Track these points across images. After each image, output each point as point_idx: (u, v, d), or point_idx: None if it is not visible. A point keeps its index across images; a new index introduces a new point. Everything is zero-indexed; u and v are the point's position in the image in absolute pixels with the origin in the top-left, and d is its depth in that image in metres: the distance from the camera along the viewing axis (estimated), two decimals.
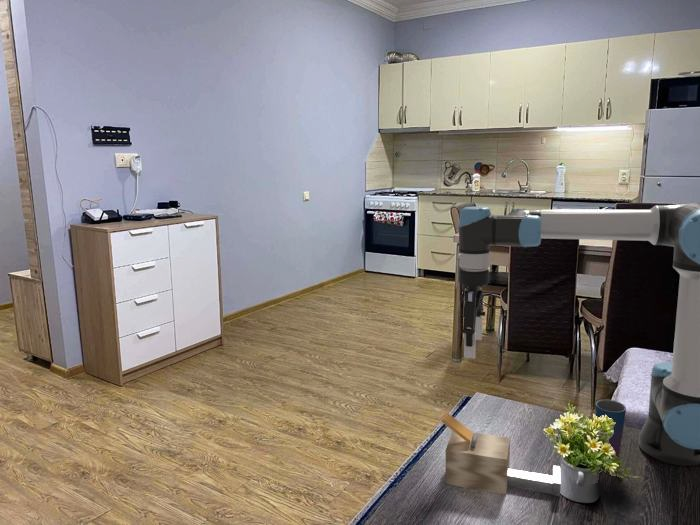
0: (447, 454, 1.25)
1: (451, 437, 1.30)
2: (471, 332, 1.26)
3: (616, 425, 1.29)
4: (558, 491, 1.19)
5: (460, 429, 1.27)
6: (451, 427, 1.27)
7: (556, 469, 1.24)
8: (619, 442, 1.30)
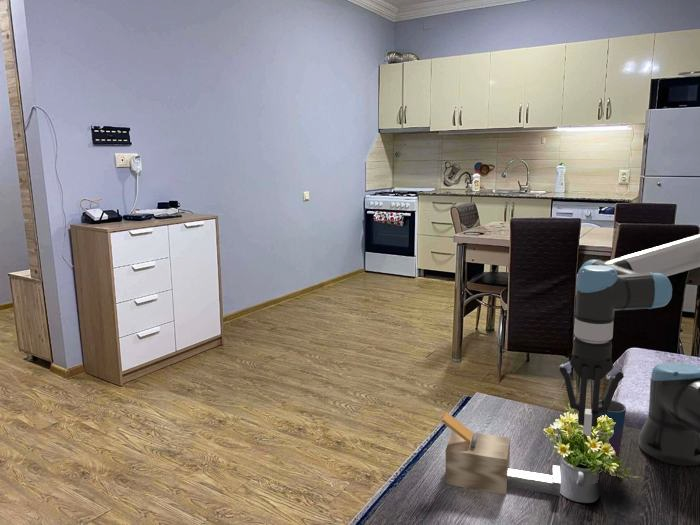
0: (447, 454, 1.25)
1: (451, 437, 1.30)
2: None
3: (616, 425, 1.29)
4: (558, 491, 1.19)
5: (460, 429, 1.27)
6: (451, 427, 1.27)
7: (556, 469, 1.24)
8: (619, 442, 1.30)
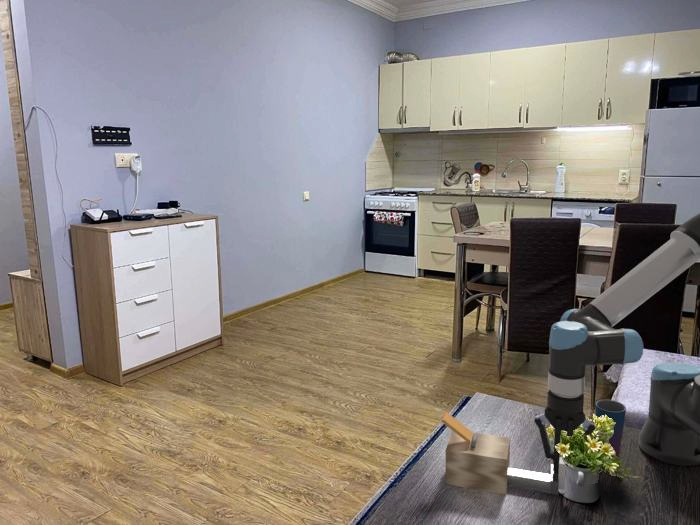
0: (447, 454, 1.25)
1: (451, 437, 1.30)
2: None
3: (616, 425, 1.29)
4: (556, 489, 1.19)
5: (460, 429, 1.27)
6: (451, 427, 1.27)
7: None
8: (619, 442, 1.30)
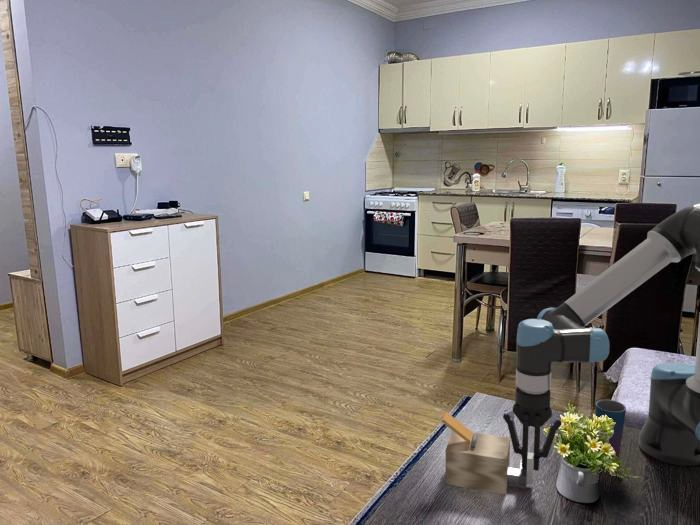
0: (447, 454, 1.25)
1: (451, 437, 1.30)
2: (514, 450, 1.23)
3: (616, 425, 1.29)
4: (524, 484, 1.22)
5: (460, 429, 1.27)
6: (451, 427, 1.27)
7: None
8: (619, 442, 1.30)
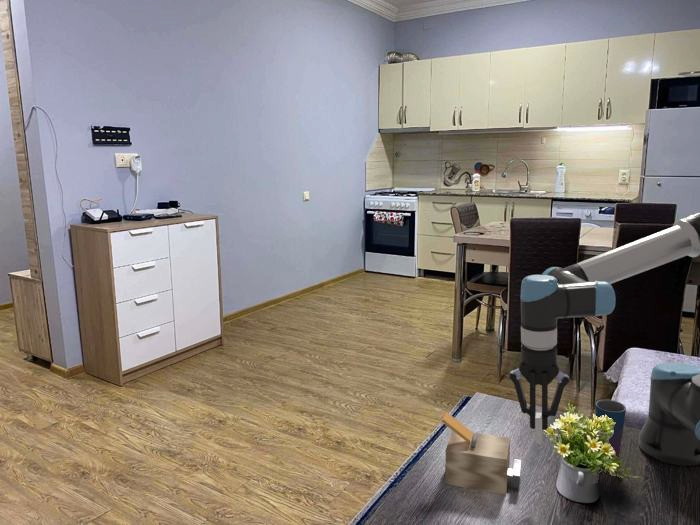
0: (447, 454, 1.25)
1: (451, 437, 1.30)
2: (521, 410, 1.21)
3: (616, 425, 1.29)
4: (517, 483, 1.22)
5: (460, 429, 1.27)
6: (451, 427, 1.27)
7: (517, 462, 1.27)
8: (619, 442, 1.30)
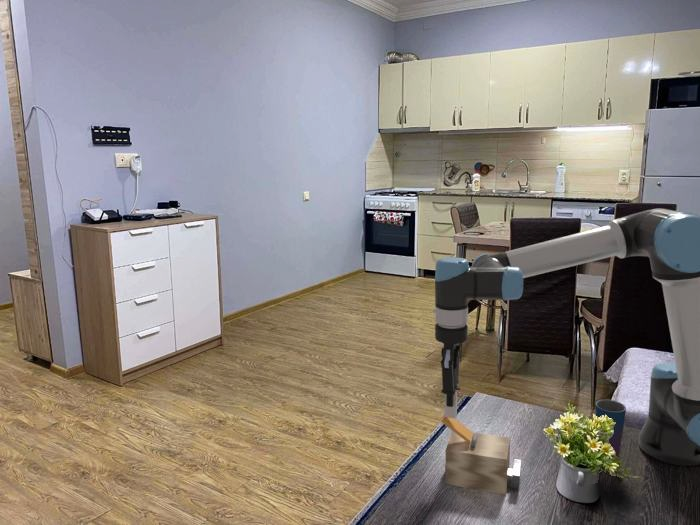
0: (447, 454, 1.25)
1: (451, 437, 1.30)
2: (451, 393, 1.23)
3: (616, 425, 1.29)
4: (517, 483, 1.22)
5: (460, 429, 1.27)
6: (451, 427, 1.27)
7: (517, 462, 1.27)
8: (619, 442, 1.30)
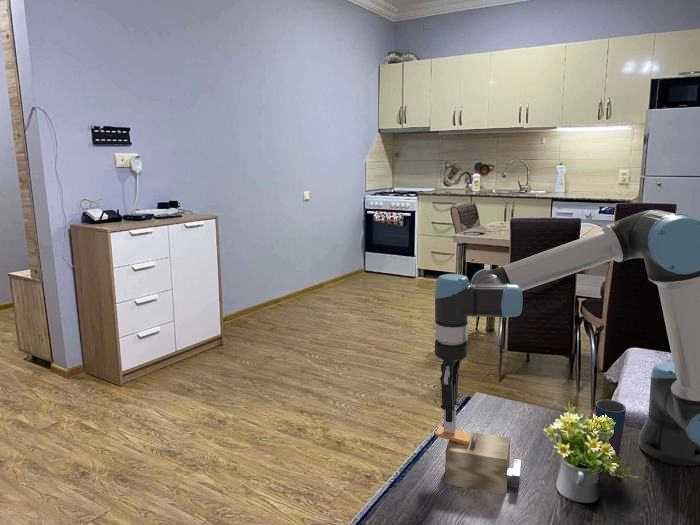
0: (447, 454, 1.25)
1: None
2: (450, 409, 1.24)
3: (616, 425, 1.29)
4: (517, 483, 1.22)
5: (456, 435, 1.28)
6: (446, 437, 1.28)
7: (517, 462, 1.27)
8: (619, 442, 1.30)
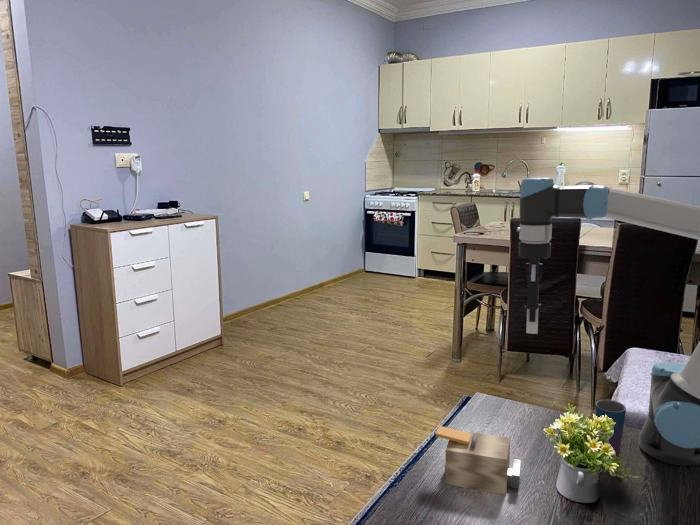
0: (447, 454, 1.25)
1: None
2: (536, 307, 1.29)
3: (616, 425, 1.29)
4: (517, 483, 1.22)
5: (456, 435, 1.28)
6: (446, 437, 1.28)
7: (517, 462, 1.27)
8: (619, 442, 1.30)
